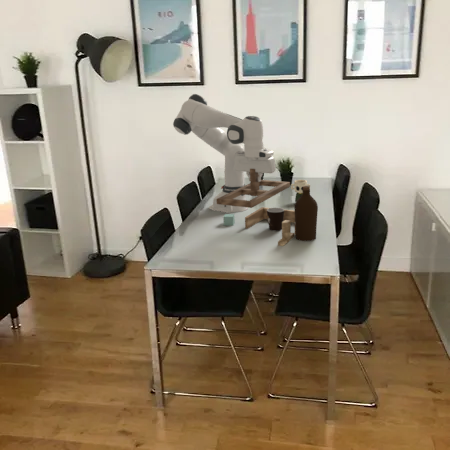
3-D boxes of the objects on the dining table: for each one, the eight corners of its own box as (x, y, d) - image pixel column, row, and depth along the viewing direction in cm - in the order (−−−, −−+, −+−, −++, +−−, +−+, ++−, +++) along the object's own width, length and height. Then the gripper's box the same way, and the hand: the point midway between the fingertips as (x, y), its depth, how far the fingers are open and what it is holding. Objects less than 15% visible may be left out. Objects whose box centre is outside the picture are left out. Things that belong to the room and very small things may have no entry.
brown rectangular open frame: (216, 204, 232) (215, 175, 228) (258, 184, 265) (257, 159, 261) (251, 207, 223) (250, 178, 219) (289, 186, 256) (289, 161, 253)
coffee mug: (283, 232, 251) (283, 212, 248) (266, 231, 253) (265, 212, 250) (285, 225, 262) (285, 206, 259) (268, 224, 263) (268, 205, 260)
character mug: (290, 204, 299) (290, 182, 295) (291, 201, 306) (291, 179, 302) (309, 204, 297) (310, 182, 293) (310, 201, 304) (310, 179, 300)
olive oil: (311, 243, 234) (311, 190, 226) (290, 240, 240) (290, 187, 232) (321, 237, 242) (322, 185, 234) (300, 233, 248) (301, 183, 240)
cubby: (245, 228, 258) (244, 217, 257) (262, 217, 275) (261, 207, 273) (297, 235, 245) (297, 223, 243) (312, 223, 262) (312, 212, 260)
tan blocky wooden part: (277, 246, 232) (277, 225, 229) (289, 237, 244) (289, 217, 240) (283, 247, 231) (283, 226, 228) (294, 237, 242) (294, 217, 239)
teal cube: (223, 226, 264) (223, 216, 263) (225, 223, 269) (224, 214, 268) (233, 226, 264) (233, 216, 262) (234, 223, 268) (234, 214, 267)
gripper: (231, 152, 241) (232, 181, 245) (270, 154, 230) (271, 184, 235) (237, 150, 246) (238, 178, 250) (276, 151, 236) (277, 181, 240)
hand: (254, 181), depth 242 cm, fingers closed on brown rectangular open frame, 3 cm apart
